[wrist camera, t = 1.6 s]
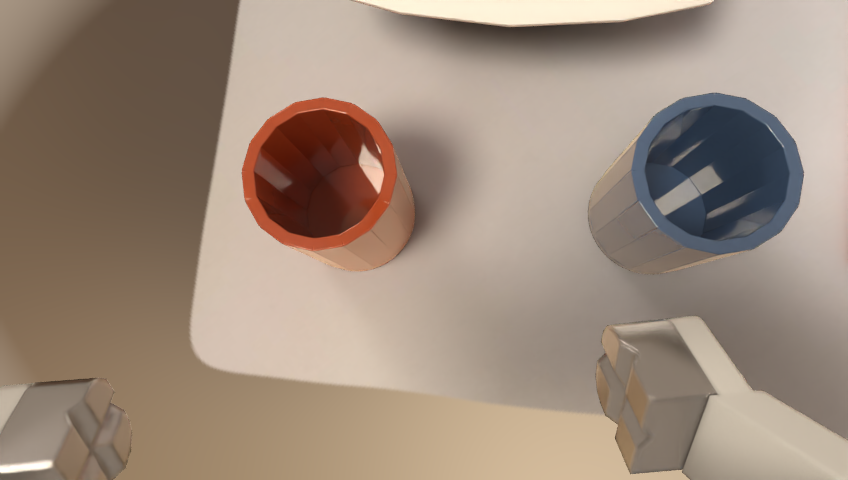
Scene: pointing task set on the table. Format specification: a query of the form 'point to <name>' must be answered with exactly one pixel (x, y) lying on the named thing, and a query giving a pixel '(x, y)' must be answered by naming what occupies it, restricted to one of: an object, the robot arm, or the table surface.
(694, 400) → the robot arm
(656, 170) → the blue cup
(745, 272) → the table surface
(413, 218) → the rust cup
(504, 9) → the bowl
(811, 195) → the table surface
